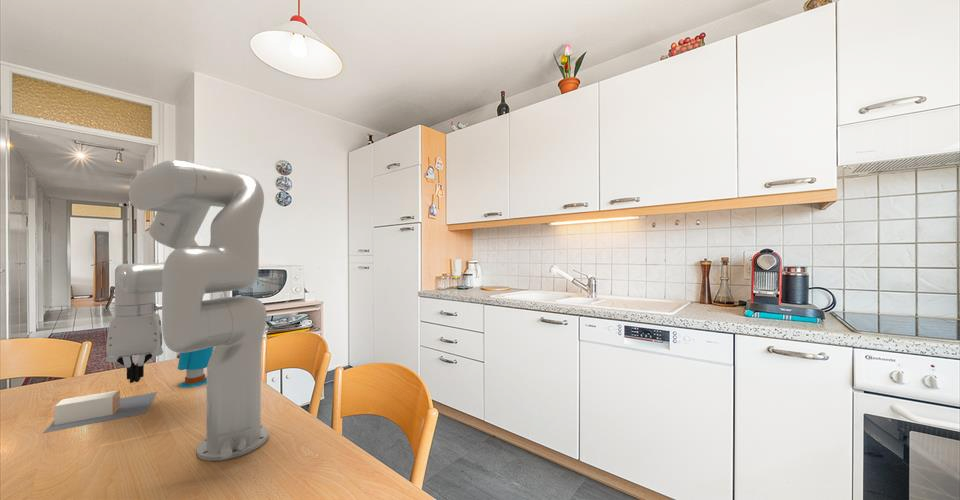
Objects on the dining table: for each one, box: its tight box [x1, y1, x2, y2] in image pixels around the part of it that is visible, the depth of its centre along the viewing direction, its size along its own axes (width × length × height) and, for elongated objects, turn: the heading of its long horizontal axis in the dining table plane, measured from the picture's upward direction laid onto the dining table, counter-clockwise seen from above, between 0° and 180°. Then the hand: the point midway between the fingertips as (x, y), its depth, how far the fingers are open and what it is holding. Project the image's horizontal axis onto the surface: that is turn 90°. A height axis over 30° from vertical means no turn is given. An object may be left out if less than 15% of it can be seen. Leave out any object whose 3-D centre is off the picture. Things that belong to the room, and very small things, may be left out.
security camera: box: [176, 347, 214, 388], centre depth 109 cm, size 8×21×10 cm
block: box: [53, 389, 121, 425], centre depth 87 cm, size 4×4×10 cm
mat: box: [42, 391, 158, 434], centre depth 90 cm, size 16×17×1 cm
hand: (135, 380), depth 92 cm, fingers closed
